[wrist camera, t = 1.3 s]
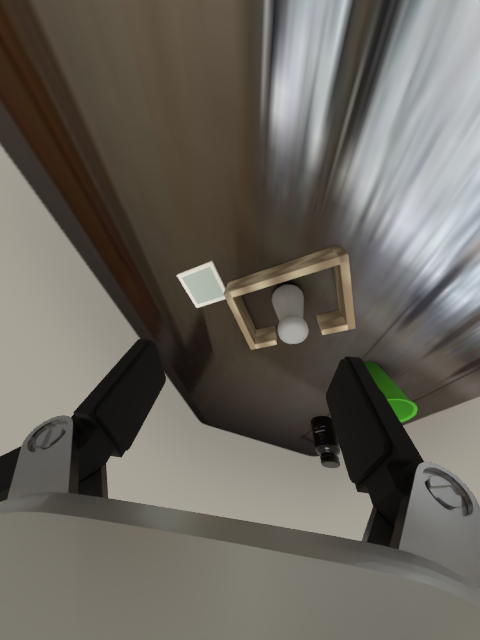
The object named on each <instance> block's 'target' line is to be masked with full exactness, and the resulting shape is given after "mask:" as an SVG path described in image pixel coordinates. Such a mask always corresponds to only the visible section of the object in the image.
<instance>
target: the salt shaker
mask: <svg viewBox="0 0 480 640" xmlns="http://www.w3.org/2000/svg"><path fill="white" fill-rule="evenodd" d="M272 304H273V307H274V309H275V312H276V314H277V316H278V319H279V321H280V322H279V325H278V334H279V337H280V339H281V340H282V341H284V342H285V343H289V344H297V343H300V342H302V341H303V340H305V339H306V338H307V335H308V326H307V323H306V321H305V320H304V319H303V307H304V296H303V293H302V291H301V290H300V289H299V288H298V287H297V286H295V285H291V284H283V285H282V286H280V287H279V288H277V289H276V290H275V292H274V293H273V295H272Z"/></svg>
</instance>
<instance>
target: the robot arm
mask: <svg viewBox="0 0 480 640" xmlns="http://www.w3.org/2000/svg"><path fill="white" fill-rule="evenodd" d="M165 381H166V376H165V373H164V370H163V367H162V363H161V360H160V357H159V354H158V351H157V347H156V345H155V343H153V342H152V340H146V339H139V340H137V341H136V343H135V344H134V345H133V346H132V347H131V348H130V349H129V350H128V352H127V353H126V354H125V355H124V356H123V357H122V358H121V359H120V361H119V362H118V363H117V364H116V365H115V366H114V368H113V369H112V370H111V371H110V372H109V373H108V374H107V375H106V376H105V378H104V379H103V380H102V381H101V382H100V383H99V384H98V385H97V387H96V388H95V389H94V390H93V391H92V392H91V393H90V395H89V396H88V397H87V398H86V399H85V400H84V401H83V402H82V403H81V405H80V406H79V407H78V408H77V409H76V410H75V411H74V415H73V416H72V417H71V418H70V417H69V416H57V417H54V418H51V419H49V420H47V421H45V422H43V423H42V424H41V425H39V426H37V427H36V428H35V429H34V430H33V431H32V432H31V433H30V434H29V435H28V436H27V438H26V439H25V440H24V442H23V444H22V446H21V447H19V448H17V449H15V450H13V451H11V452H9V453H7V454H5V455H3V456H0V640H480V506H479V504H478V502H477V500H476V499H475V496H474V495H473V493H472V492H471V491H470V490H469V488H468V487H467V486H466V485H465V484H464V483H463V482H462V481H461V480H460V479H459V478H458V477H457V476H456V475H454V474H453V473H452V472H450V471H449V470H447V469H446V468H444V467H442V466H440V465H438V464H435V463H432V462H424V461H423V459H422V458H421V456H420V455H419V452H418V451H417V449H416V448H415V446H414V444H413V442H412V441H411V439H410V437H409V436H408V434H407V432H406V431H405V429H404V428H403V425H402V424H401V422H400V420H399V419H398V417H397V415H396V414H395V412H394V410H393V409H392V407H391V405H390V404H389V402H388V400H387V399H386V397H385V395H384V394H383V392H382V391H381V390H380V389H379V388H378V386H377V384H376V383H375V381H374V379H373V378H372V376H371V374H370V373H369V371H368V369H367V367H366V366H365V364H364V362H363V361H362V359H361V358H358V357H345V358H344V359H342V360H341V361H340V363H339V365H338V368H337V370H336V372H335V375H334V377H333V379H332V381H331V384H330V386H329V388H328V391H327V393H326V400H327V404H328V407H329V411H330V414H331V417H332V421H333V424H334V428H335V431H336V434H337V438H338V441H339V444H340V448H341V451H342V454H343V458H344V461H345V465H346V468H347V471H348V475H349V477H350V480H351V481H352V482H353V483H355V485H356V489H357V491H358V492H363V493H369V495H370V498H371V501H372V504H373V509H372V512H371V515H370V518H369V521H368V524H367V527H366V530H365V533H364V536H363V539H362V541H356V540H351V539H346V538H341V537H336V536H331V535H325V534H318V533H313V532H307V531H301V530H296V529H290V528H283V527H278V526H272V525H267V524H260V523H255V522H248V521H243V520H236V519H230V518H225V517H219V516H213V515H207V514H200V513H195V512H189V511H183V510H177V509H171V508H165V507H158V506H152V505H146V504H140V503H134V502H128V501H121V500H115V499H108V489H107V472H106V462H107V461H108V459H109V457H110V456H116V457H122V456H123V454H124V452H125V451H126V450H128V449H129V448H130V447H131V445H132V443H133V441H134V439H135V438H136V436H137V434H138V432H139V430H140V428H141V426H142V425H143V423H144V421H145V419H146V417H147V415H148V413H149V412H150V410H151V408H152V406H153V404H154V402H155V400H156V399H157V397H158V395H159V393H160V391H161V389H162V387H163V386H164V384H165Z"/></svg>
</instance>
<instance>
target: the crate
mask: <svg viewBox="0 0 480 640" xmlns="http://www.w3.org/2000/svg"><path fill="white" fill-rule="evenodd" d="M330 267H333V271H334V278H335V285H336V292H337V299H338V306H339V310H336V311H332V312H328V313H324V314H319V315H316V318H317V321H318V324H319V327H320V330H321V332H322V335H325V334H330V333H335V332H340V331H344V330H349V329H354V328H355V319H354V308H353V298H352V287H351V277H350V266H349V256H348V253H347V252H346V251H345V250H343V249H342V248H341V247H340V246H339V245H336V246H333V247H330V248H327V249H324V250H321V251H318V252H315V253H313V254H310V255H307V256H304V257H301V258H298V259H295V260H292V261H289V262H286V263H283V264H280V265H277V266H274V267H272V268H269V269H266V270H263V271H260V272H257V273H254V274H251V275H248V276H245V277H242V278H239V279H236V280H234V281H231V282H228V284H227V287H226V289H225V291H224V296H225V298H226V300H227V302H228V304H229V306H230V308H231V310H232V312H233V314H234V316H235V318H236V320H237V322H238V324H239V326H240V328H241V330H242V332H243V334H244V336H245V338H246V340H247V342H248V344H249V346H250V348H251V350H252V349H257V348H262V347H267V346H272V345H277V337H276V328H275V325H274V326H269V327H265V328H261V329H257V330H256V329H255V327H254V324H253V322H252V320H251V318H250V315H249V313H248V311H247V309H246V306H245V304H244V302H243V300H242V297H241V295H243V294H246V293H249V292H253V291H256V290H259V289H262V288H265V287H269V286H272V285H275V284H278V283H282V282H285V281H288V280H291V279H294V278H298V277H301V276H304V275H307V274H311V273H314V272H317V271H320V270H323V269H327V268H330Z"/></svg>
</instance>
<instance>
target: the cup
mask: <svg viewBox="0 0 480 640" xmlns="http://www.w3.org/2000/svg"><path fill="white" fill-rule="evenodd" d="M364 364H365V366H366V367H367V369H368V371H369V373H370V374H371V376H372V378H373V379H374V381H375V383H376V384H377V386H378V388H379V389H380V390H381V391H382V392H383V394H384V395H385V397H386V399H387V400H388V402H389V404H390V405H391V407H392V409H393V410H394V412H395V414H396V415H397V417H398V419H399V420H400V422H404V421H407V420H409V419H411V418H412V417H414V416H415V415H416V413H417V411H418V408H417V405H416V404H415V403H414V402H412V401H410V400H409V399H408V398H407V397H406V396H405V395H404V393H403V392H402V391H401V390H400V389H399V388H398V387H397V386H396V384H395V383H394V382H393V381H392V380H391V379H390V378H389V377H388V375H387V374H386V373H385V372H384V371H383V370H382V369H381V368H380V366H379V365H377V364H376V363H373V362H365V363H364Z"/></svg>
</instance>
